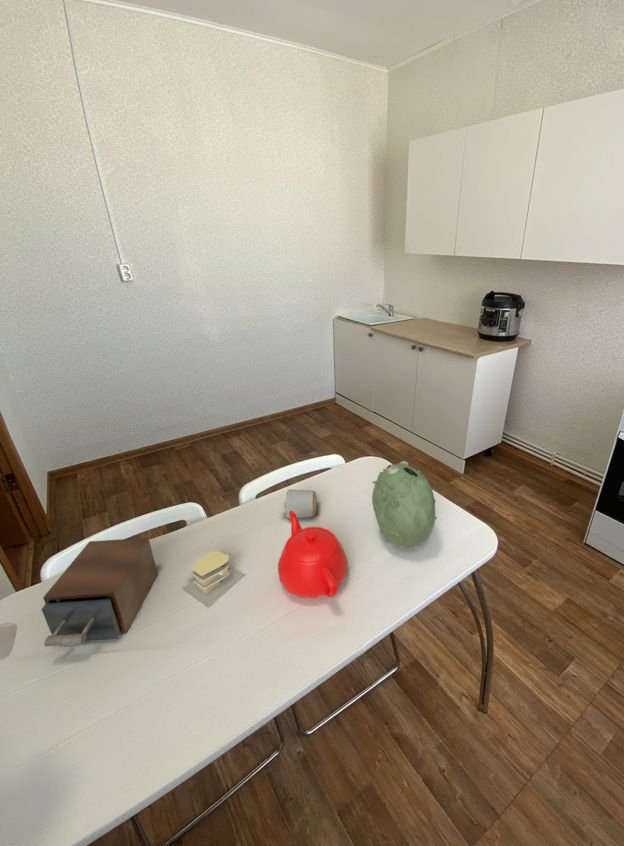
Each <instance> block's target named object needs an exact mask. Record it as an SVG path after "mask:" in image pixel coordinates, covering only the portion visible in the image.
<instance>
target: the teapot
mask: <svg viewBox="0 0 624 846" xmlns="http://www.w3.org/2000/svg"><path fill="white" fill-rule="evenodd" d="M289 514H290V518H289V519H290V524H291V526H290V527H291V528H290V530H291V531H290V536H289V538H288V539H287V540H286V543H285V544H284V547H283V548H282V551H281V553H280V557H279V560H278V563H277V572H278V578H279V582H280V583H281V585H282V586H283V588H284V589H285V590H286V592H288V593H290V594H292V595H294V596H295V597H298V598H300V599H301V598H302V599H316V598H320V597H322V596H326V597H327V598H331V599H332V598H334V597H336V596H337V594H338V593H339V586H340V585H341V583H342V582H343V580H344V578H345V577H346V574H347V570H348V569H347V568H348V558H347V555H346V552H345V550H344V548H343V546H342V544H341V542H340V540H339V539H338V538H337V536H336V535H335V534H334V533H333V532H332V531H331V530H330V529H327V528H324V527H321V526H308V527H304V528H302V526H301V523H300V521H299V519H298V518H297V516H296V514H295V513H294V512H293V511H290V512H289Z"/></svg>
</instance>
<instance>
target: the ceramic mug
mask: <svg viewBox="0 0 624 846" xmlns="http://www.w3.org/2000/svg"><path fill="white" fill-rule="evenodd" d="M290 511H293V512H294V513H295V514H296V516H297V519H298V518H299V519H300V518H301V519H303V518H312V517H315V516H316V514H317V492H316V491H315V490H311V489H287V491H286V495H285V517H286V519H290V514H289V512H290Z"/></svg>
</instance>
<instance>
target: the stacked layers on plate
mask: <svg viewBox="0 0 624 846" xmlns="http://www.w3.org/2000/svg"><path fill="white" fill-rule="evenodd" d="M190 570H192V572H191V575H192V576H194V578H193V580H191V581H190V582H189V583H187V584H186V585H185V586H183V587H182V589H183V590H184V591H185V592H186V593H188V594H189V595H191V596H192V597H193V598H195V599H196V600H198V601H199V602H201V603H202V604H203V605H205V606H206V607H207V608H209V607H210V606H211V605H213V604H214V603H215V602H216V601H217V600H219V598H221V597H222V596H223V595H224V594H225V593H226V592H227V591H228V590H230V589H231V588H232V587H233V586H234V585H235V584H237V583H238V582H239V581H240V580H241V579H243V577H245V575H246V574H245V573H243V572H242V571H240V570H238V569H237V568H235V567H234V566H232V565H230V558H229V555H228V554H226V553H222V552H218V551H210V552H207V553H206V554H205V555H204V556H202V557H201V558H200V559H199V560H198V561H197V562H196V563H195V564H194V565H193V566H192V567H191V568H190Z"/></svg>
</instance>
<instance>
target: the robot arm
mask: <svg viewBox="0 0 624 846" xmlns="http://www.w3.org/2000/svg"><path fill="white" fill-rule="evenodd" d="M17 631H18V626H17V624H16V623H14V622H5V623H0V661H2V660H5V659H7V658H8V657H9V656H10V655H11V653H12V651H13V649H14V644H15V640H16V638H17V633H18V632H17Z"/></svg>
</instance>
